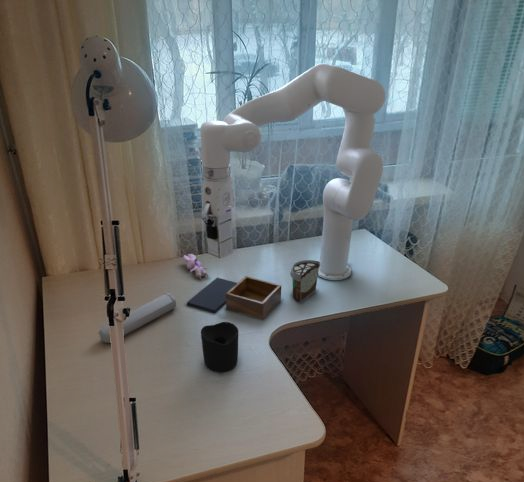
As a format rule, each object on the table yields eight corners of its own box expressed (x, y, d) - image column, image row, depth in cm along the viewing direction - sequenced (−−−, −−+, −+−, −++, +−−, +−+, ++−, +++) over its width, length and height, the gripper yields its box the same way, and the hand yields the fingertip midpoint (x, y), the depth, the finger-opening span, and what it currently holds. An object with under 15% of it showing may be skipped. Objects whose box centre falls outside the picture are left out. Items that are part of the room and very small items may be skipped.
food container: (302, 283, 165) (303, 255, 159) (318, 288, 162) (320, 261, 156) (281, 298, 157) (282, 270, 151) (298, 304, 154) (299, 276, 148)
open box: (245, 290, 161) (245, 275, 158) (280, 300, 156) (281, 285, 153) (226, 308, 152) (225, 293, 148) (262, 319, 147) (263, 303, 144)
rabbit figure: (212, 280, 168) (194, 257, 177) (213, 266, 164) (194, 242, 173) (195, 285, 166) (178, 260, 175) (195, 270, 162) (177, 246, 170)
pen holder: (210, 349, 135) (209, 318, 129) (243, 355, 133) (243, 324, 127) (197, 370, 128) (194, 338, 122) (231, 377, 126) (231, 345, 120)
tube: (107, 337, 132) (177, 299, 147) (95, 325, 133) (165, 289, 149) (107, 350, 136) (175, 312, 151) (95, 338, 137) (163, 301, 153)
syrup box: (233, 252, 149) (232, 205, 140) (219, 259, 145) (217, 211, 136) (219, 247, 152) (218, 200, 143) (206, 253, 148) (203, 206, 139)
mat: (217, 280, 166) (217, 277, 166) (243, 287, 163) (243, 284, 162) (187, 304, 153) (186, 302, 153) (214, 313, 150) (214, 310, 149)
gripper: (211, 183, 126) (214, 247, 137) (244, 165, 139) (244, 225, 150) (187, 178, 129) (191, 242, 140) (220, 161, 142) (222, 221, 152)
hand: (219, 233), depth 145 cm, fingers closed on syrup box, 6 cm apart
